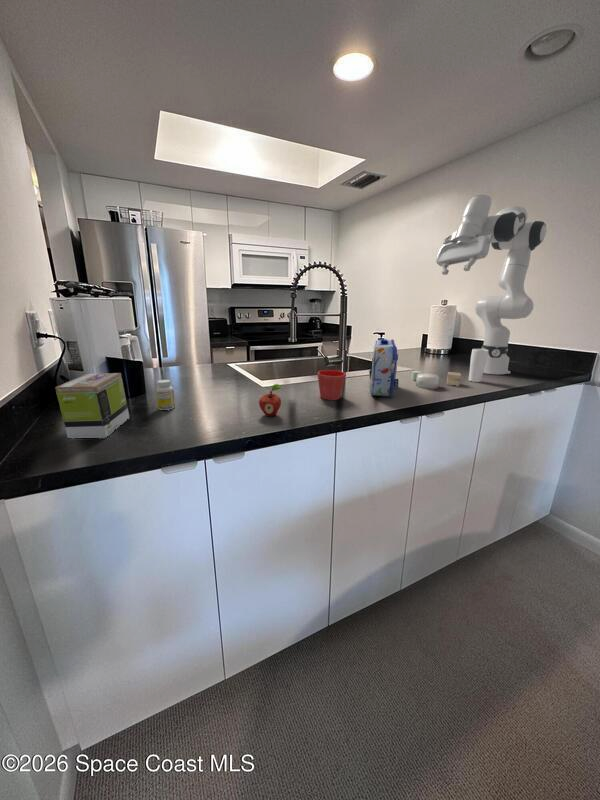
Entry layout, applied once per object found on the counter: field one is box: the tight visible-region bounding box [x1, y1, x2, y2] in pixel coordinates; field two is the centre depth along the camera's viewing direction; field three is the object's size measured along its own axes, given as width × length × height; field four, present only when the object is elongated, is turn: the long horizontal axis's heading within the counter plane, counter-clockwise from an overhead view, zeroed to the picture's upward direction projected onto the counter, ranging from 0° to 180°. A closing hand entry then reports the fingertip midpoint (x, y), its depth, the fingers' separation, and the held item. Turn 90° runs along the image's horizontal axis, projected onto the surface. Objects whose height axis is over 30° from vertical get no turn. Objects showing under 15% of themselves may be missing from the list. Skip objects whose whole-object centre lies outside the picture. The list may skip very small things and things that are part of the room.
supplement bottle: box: [155, 379, 176, 411], centre depth 106 cm, size 5×5×10 cm
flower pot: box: [317, 369, 347, 401], centre depth 121 cm, size 11×11×10 cm
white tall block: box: [468, 348, 489, 383], centre depth 148 cm, size 7×7×15 cm
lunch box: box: [369, 338, 399, 398], centre depth 128 cm, size 28×10×22 cm, turn 168°
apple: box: [258, 383, 282, 417], centre depth 101 cm, size 8×7×10 cm
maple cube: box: [446, 371, 462, 387], centre depth 144 cm, size 5×5×5 cm
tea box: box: [54, 372, 130, 439], centre depth 88 cm, size 15×10×15 cm, turn 5°
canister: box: [415, 372, 440, 390], centre depth 140 cm, size 9×9×5 cm
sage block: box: [410, 370, 423, 381], centre depth 151 cm, size 4×4×4 cm
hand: (455, 272), depth 123 cm, fingers open, 8 cm apart
